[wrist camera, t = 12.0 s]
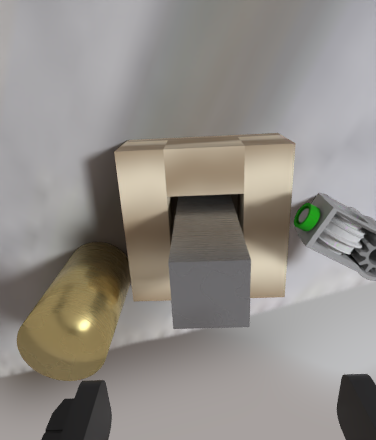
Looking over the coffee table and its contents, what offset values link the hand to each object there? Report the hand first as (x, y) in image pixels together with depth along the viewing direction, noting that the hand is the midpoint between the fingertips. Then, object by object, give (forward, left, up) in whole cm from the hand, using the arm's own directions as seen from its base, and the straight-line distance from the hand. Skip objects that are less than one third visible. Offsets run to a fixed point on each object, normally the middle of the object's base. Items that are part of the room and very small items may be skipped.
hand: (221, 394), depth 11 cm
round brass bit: (+6, -10, -19) cm, 22 cm away
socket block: (0, 0, -19) cm, 19 cm away
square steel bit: (0, 0, -18) cm, 18 cm away
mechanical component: (0, +10, -19) cm, 22 cm away
